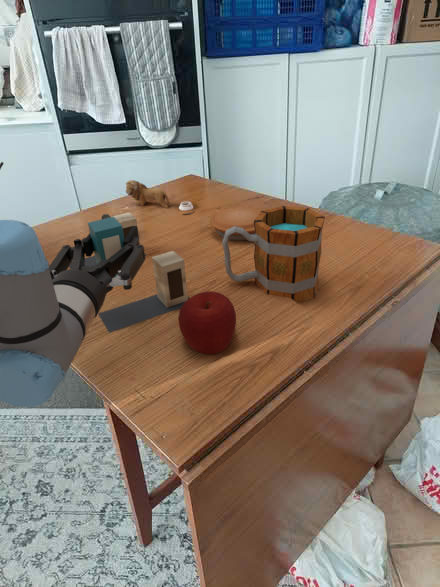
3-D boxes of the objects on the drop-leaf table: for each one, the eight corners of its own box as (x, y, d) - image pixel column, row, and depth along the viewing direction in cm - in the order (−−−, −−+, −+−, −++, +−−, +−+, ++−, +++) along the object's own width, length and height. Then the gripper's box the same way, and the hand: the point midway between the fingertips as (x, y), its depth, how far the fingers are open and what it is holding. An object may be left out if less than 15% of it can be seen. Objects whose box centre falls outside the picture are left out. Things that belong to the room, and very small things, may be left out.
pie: (278, 239, 107) (279, 221, 105) (218, 248, 105) (217, 230, 102) (258, 217, 120) (259, 199, 117) (205, 224, 117) (203, 207, 115)
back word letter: (117, 251, 102) (110, 216, 97) (135, 247, 104) (129, 212, 99) (123, 259, 99) (117, 223, 94) (142, 254, 101) (136, 218, 96)
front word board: (99, 319, 82) (97, 313, 81) (180, 293, 88) (179, 287, 88) (110, 339, 76) (108, 332, 76) (195, 309, 83) (194, 303, 82)
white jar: (193, 216, 122) (196, 209, 126) (192, 206, 121) (196, 200, 125) (176, 216, 123) (180, 209, 127) (175, 206, 122) (179, 199, 126)
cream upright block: (157, 297, 85) (151, 257, 80) (177, 290, 87) (173, 250, 82) (167, 308, 81) (162, 267, 76) (188, 300, 83) (184, 259, 78)
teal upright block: (98, 269, 76) (87, 222, 71) (122, 262, 78) (113, 216, 73) (105, 280, 73) (95, 232, 68) (130, 273, 75) (122, 225, 70)
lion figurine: (126, 212, 127) (121, 183, 122) (132, 206, 131) (127, 177, 126) (174, 214, 124) (171, 184, 120) (178, 207, 129) (176, 177, 124)
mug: (311, 268, 95) (316, 204, 86) (327, 302, 83) (334, 232, 75) (222, 274, 94) (219, 209, 86) (226, 309, 83) (223, 238, 75)
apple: (170, 354, 72) (164, 306, 67) (202, 324, 79) (198, 278, 74) (218, 373, 68) (215, 323, 62) (247, 340, 75) (246, 292, 69)
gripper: (10, 326, 61) (70, 251, 80) (142, 329, 59) (172, 251, 78) (-8, 281, 56) (61, 213, 76) (134, 283, 55) (167, 212, 74)
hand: (117, 232), depth 77 cm, fingers closed on teal upright block, 6 cm apart
